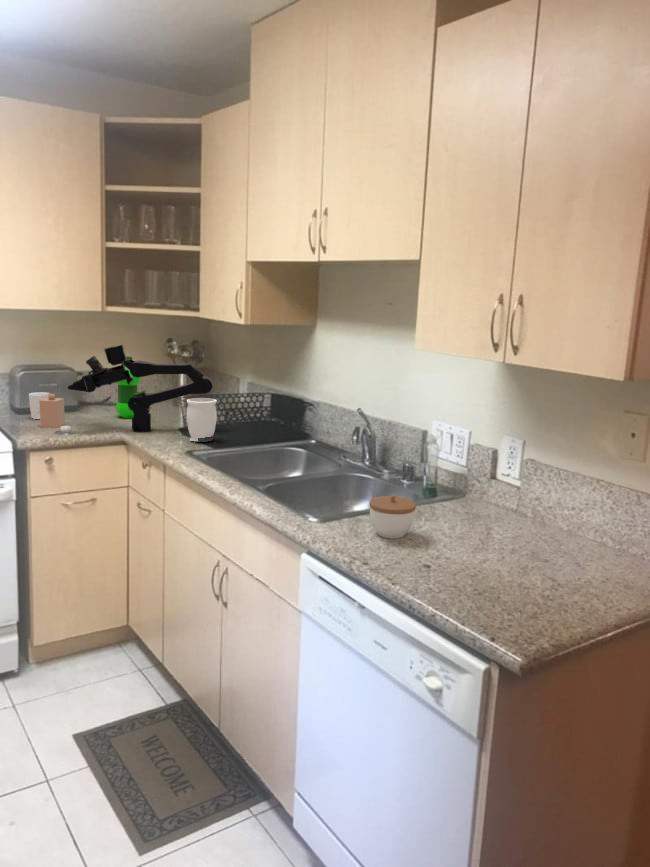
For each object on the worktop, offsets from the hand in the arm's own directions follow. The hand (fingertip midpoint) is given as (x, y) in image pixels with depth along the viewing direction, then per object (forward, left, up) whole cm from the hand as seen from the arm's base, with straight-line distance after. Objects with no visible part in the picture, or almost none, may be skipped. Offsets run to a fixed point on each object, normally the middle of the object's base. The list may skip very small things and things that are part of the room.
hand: (70, 386), depth 259 cm
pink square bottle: (+8, -6, -17) cm, 19 cm away
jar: (-46, +22, -17) cm, 54 cm away
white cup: (+15, -24, -17) cm, 33 cm away
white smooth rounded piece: (+2, +7, -16) cm, 18 cm away
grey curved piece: (+2, +7, -17) cm, 18 cm away
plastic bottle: (-19, -25, -17) cm, 36 cm away
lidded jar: (-83, +124, -17) cm, 151 cm away
